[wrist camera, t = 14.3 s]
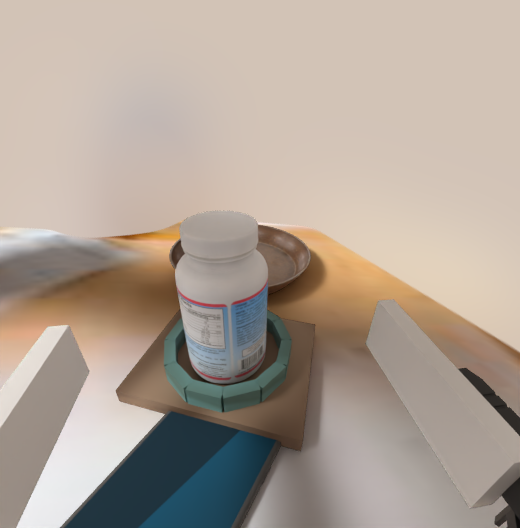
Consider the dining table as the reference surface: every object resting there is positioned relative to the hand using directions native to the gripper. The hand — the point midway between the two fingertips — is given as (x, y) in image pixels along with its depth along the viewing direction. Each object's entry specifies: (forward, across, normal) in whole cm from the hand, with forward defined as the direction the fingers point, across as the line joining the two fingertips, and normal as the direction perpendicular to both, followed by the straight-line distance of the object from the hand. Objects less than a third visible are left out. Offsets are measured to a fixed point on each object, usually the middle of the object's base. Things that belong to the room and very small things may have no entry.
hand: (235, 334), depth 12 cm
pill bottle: (+7, 0, -9) cm, 11 cm away
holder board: (+7, 0, -10) cm, 12 cm away
